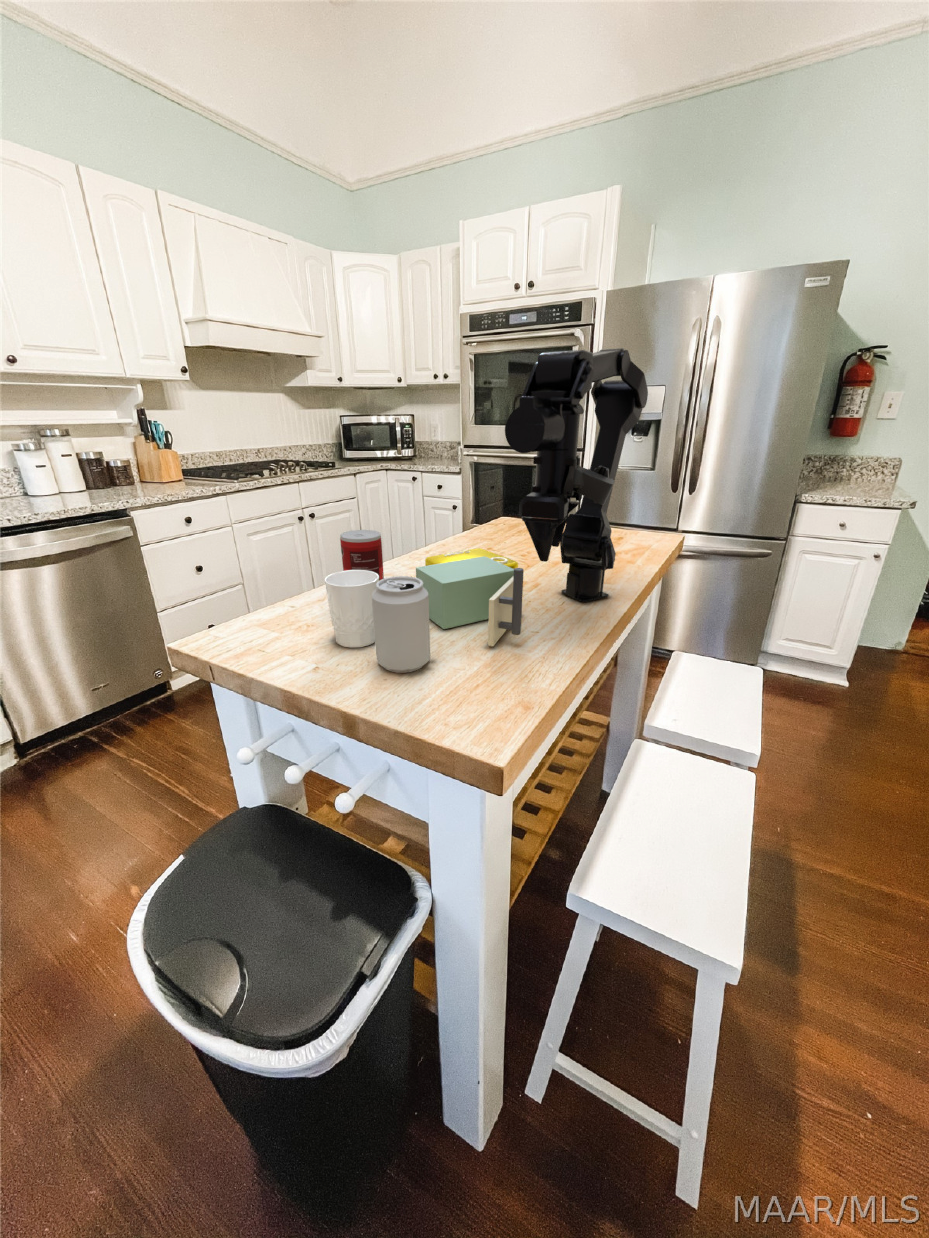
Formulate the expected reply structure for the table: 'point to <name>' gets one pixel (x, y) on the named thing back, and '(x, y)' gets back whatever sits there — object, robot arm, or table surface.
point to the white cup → (352, 606)
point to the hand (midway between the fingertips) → (549, 553)
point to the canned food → (362, 551)
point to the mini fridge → (462, 589)
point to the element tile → (469, 557)
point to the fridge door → (506, 608)
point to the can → (401, 623)
